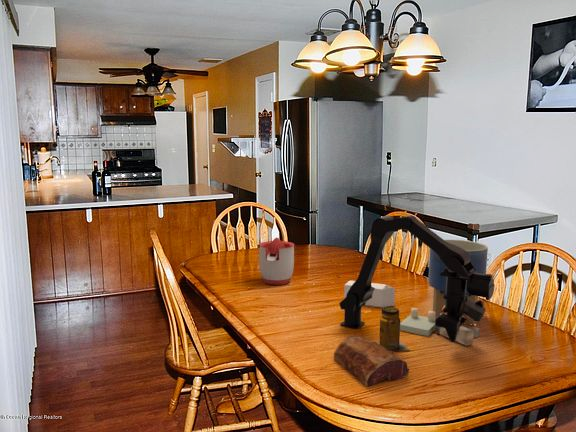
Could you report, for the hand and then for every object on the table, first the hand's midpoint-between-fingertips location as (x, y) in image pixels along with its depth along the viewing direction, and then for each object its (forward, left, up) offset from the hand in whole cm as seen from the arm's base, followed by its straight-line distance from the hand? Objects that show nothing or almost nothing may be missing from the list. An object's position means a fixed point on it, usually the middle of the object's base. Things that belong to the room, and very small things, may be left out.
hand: (452, 341), depth 156 cm
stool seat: (+12, +14, -2) cm, 19 cm away
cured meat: (-22, +18, -3) cm, 29 cm away
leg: (+9, +3, -2) cm, 10 cm away
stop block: (+15, -2, -2) cm, 15 cm away
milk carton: (+26, +49, +1) cm, 55 cm away
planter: (+30, +7, -3) cm, 31 cm away
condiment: (-8, +16, -3) cm, 18 cm away
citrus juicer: (+31, +85, -3) cm, 91 cm away
